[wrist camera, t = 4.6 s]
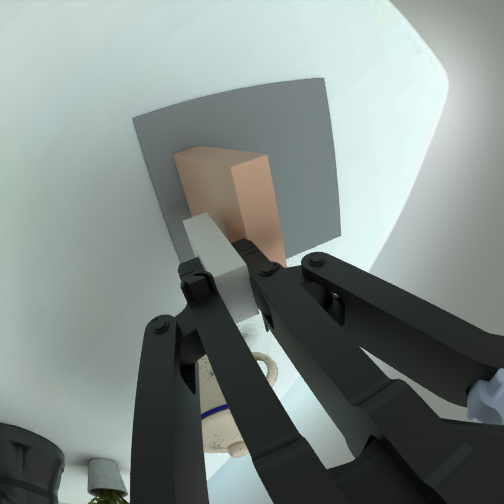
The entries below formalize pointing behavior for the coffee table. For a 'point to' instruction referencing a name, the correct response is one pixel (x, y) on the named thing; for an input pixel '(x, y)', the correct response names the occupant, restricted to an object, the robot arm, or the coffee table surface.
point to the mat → (257, 141)
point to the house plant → (105, 482)
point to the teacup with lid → (223, 410)
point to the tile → (233, 195)
